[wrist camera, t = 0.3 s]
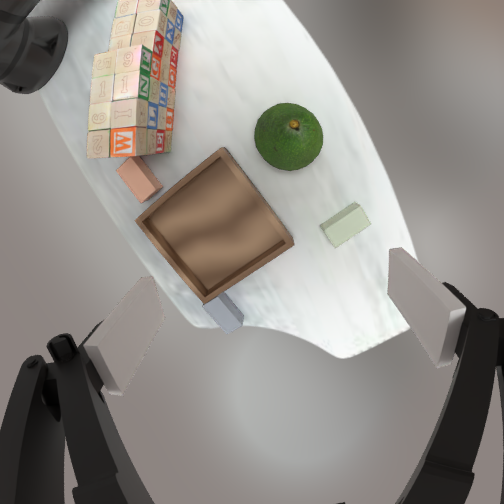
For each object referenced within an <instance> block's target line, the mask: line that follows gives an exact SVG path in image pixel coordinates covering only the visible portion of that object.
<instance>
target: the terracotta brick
mask: <svg viewBox="0 0 504 504" xmlns="http://www.w3.org/2000/svg"><path fill="white" fill-rule="evenodd" d="M116 171H117V173H118V174H119V175H120V177H121V178H122V179H123V181H124V182H125V183H126V185H127V186H128V187H129V189H130V190H131V191H132V193H133V194H134V195H135V196H136V198H137V199H138V200H139V202H140V203H143V202H145V201H147V200H149V199H150V198H151V197H152V196H153V195H154V194H155V193H157V192H158V191H159V190H160V189H161V188H162V187H163V186H162V185H161V183H160V182H159V181H158V180H157V178H156V177H155V176H154V174H153V173H152V172H151V171H150V169H149V168H148V167H147V165H146V164H145V163H144V161H143V160H142V159H141V158H140V156H130V157H129V158H128V159H127V160H126V161H125V162H124V163H123V164H122V165H121V166H120V167H119V168H118V169H117V170H116Z"/></svg>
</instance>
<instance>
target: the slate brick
mask: <svg viewBox="0 0 504 504" xmlns="http://www.w3.org/2000/svg"><path fill="white" fill-rule="evenodd" d="M202 307H203V308H204V309H205V310H206V311H207V313H208V314H209V315H210V316H211V317H212V318H213V319H214V321H215V322H216V323H217V324H218V325H219V326H220V327H221V328H222V329H223V331H224V332H225V333H226V334H228V333H230V332H232V331H234V330H236V329H237V328H239V327H241V326H242V325H243V319H244V315H243V314H242V313H241V312H240V311H239V309H238V308H237V307H236V306H235V305H234V303H233V302H232V301H231V300H230V299H229V297H228V296H227V295H226V294H225V293H224V292H222V293H221V294H219V295H218V296H216V297H215V298H213V299H211V300H210V301H208V302H207V303H205V304H204V303H203V305H202Z"/></svg>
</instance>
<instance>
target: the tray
mask: <svg viewBox="0 0 504 504" xmlns="http://www.w3.org/2000/svg"><path fill="white" fill-rule="evenodd" d="M135 222H136V223H137V224H138V226H139V227H140V228H141V229H142V231H143V232H144V233H145V234H146V236H147V237H148V238H149V239H150V241H151V242H152V243H153V244H154V246H155V247H156V248H157V249H158V251H159V252H160V253H161V254H162V255H163V257H164V258H165V259H166V260H167V261H168V263H169V264H170V265H171V266H172V267H173V269H174V270H175V271H176V272H177V273H178V275H179V276H180V277H181V278H182V279H183V280H184V282H185V283H186V284H187V285H188V286H189V287H190V289H191V290H192V291H193V292H194V293H195V294H196V295H197V297H198V298H199V299H200V300H201V301H202V302H203V303H204V304H205V303H207V302H208V301H210V300H211V299H213V298H215V297H216V296H218V295H219V294H221V293H222V292H224V291H225V290H227V289H228V288H230V287H232V286H233V285H235V284H236V283H238V282H239V281H241V280H242V279H244V278H245V277H247V276H248V275H250V274H251V273H253V272H254V271H256V270H257V269H259V268H261V267H262V266H264V265H265V264H267V263H268V262H270V261H271V260H273V259H274V258H276V257H277V256H279V255H280V254H282V253H283V252H285V251H286V250H288V249H289V248H291V247H292V246H294V241H293V238H292V236H291V235H290V233H289V232H288V231H287V229H286V228H285V227H284V225H283V224H282V222H281V221H280V220H279V218H278V217H277V216H276V214H275V213H274V211H273V210H272V209H271V207H270V206H269V205H268V203H267V202H266V201H265V199H264V198H263V197H262V195H261V194H260V193H259V191H258V190H257V189H256V187H255V186H254V185H253V183H252V182H251V181H250V179H249V178H248V177H247V175H246V174H245V173H244V171H243V170H242V169H241V167H240V166H239V165H238V164H237V162H236V161H235V160H234V158H233V157H232V156H231V154H230V153H229V152H228V151H227V149H226V148H225V147H221V148H220V149H219V150H218V151H216V152H215V153H214V154H212V155H211V156H210V157H209V158H207V159H206V160H205V161H203V162H202V163H201V164H200V165H198V166H197V167H196V168H195V169H193V170H192V171H191V172H190V173H189V174H187V175H186V176H185V177H184V178H183V179H181V180H180V181H179V182H178V183H177V184H175V185H174V186H173V187H172V188H171V189H169V190H168V191H167V192H166V193H165V194H164V195H163V196H161V197H160V198H159V199H158V200H157V201H156V202H155V203H153V204H152V205H151V206H150V207H149V208H148V209H147V210H146V211H144V212H143V213H142V214H141V215H140V216H139V217H138V218H137V219H136V220H135Z"/></svg>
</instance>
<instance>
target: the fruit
mask: <svg viewBox="0 0 504 504" xmlns="http://www.w3.org/2000/svg"><path fill="white" fill-rule="evenodd" d="M254 139H255V143H256V147H257V149H258V151H259V153H260V154H261V155H262V157H263V158H264V159H265V160H266V161H267V162H268V163H269V164H270V165H272V166H274V167H276V168H278V169H281V170H288V171H292V170H298V169H301V168H303V167H306V166H307V165H309V164H310V163H311V162H312V161H313V160H314V159H315V158H316V157H317V156H318V154H319V152H320V150H321V148H322V145H323V133H322V128H321V126H320V124H319V122H318V120H317V119H316V117H315V116H314V115H313V113H311V112H310V111H309V110H307V109H306V108H304V107H302V106H299V105H297V104H291V103H281V104H277V105H275V106H273V107H271V108H269V109H268V110H266V111H265V112H264V113H263V114H262V115H261V117H260V118H259V119H258V121H257V124H256V128H255V135H254Z"/></svg>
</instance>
